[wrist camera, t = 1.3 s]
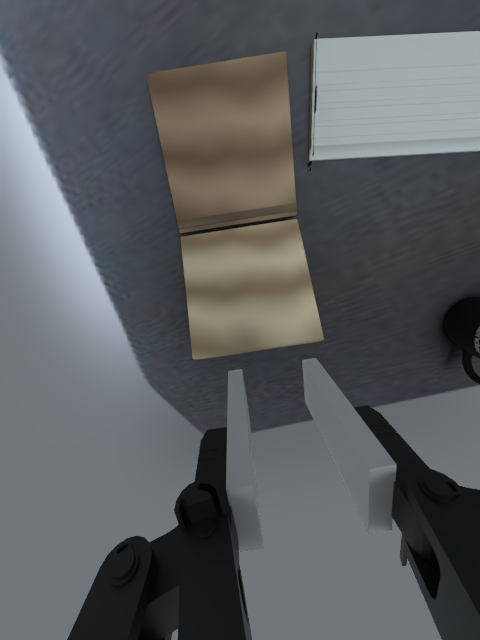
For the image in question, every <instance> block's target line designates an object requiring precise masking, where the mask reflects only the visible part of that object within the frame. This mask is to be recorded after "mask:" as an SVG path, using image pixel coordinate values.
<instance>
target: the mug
mask: <svg viewBox="0 0 480 640" xmlns="http://www.w3.org/2000/svg"><path fill="white" fill-rule="evenodd" d="M445 330H446V333H447V334H448V336H449V337H450V338H451V339H452V340H453V341H454V342H455V343H456V344H457V345H459V346H460V347H461V348H462V350H463V356H462V362H463V367H464V370H465V372H466V373H467V375H468V376H469V377H470V378H471V379H472V380H473V381H475V382H477V383H478V384H480V377H479V376H478V375H477V374H476V373H475V372H474V370H473V367H472V363H471V359H472V356H473V355H474V356H476V357H478V358H480V297H475V298H470V299H466V300H464V301H461V302H460V303H458V304H456V305H455V306H454V307H453V308H452V309H451V310H450V312H449V313H448V315H447V317H446V320H445Z"/></svg>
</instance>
